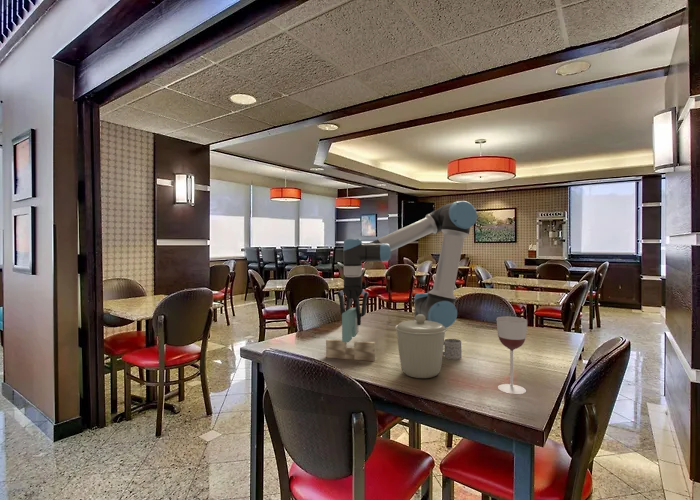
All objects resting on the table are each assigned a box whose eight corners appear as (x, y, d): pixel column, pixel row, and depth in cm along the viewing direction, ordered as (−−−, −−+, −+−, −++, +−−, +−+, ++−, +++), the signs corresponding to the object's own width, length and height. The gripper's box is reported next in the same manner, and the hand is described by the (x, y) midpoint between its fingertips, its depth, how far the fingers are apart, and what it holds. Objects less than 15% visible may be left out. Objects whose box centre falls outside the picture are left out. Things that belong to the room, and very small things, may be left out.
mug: (461, 355, 156) (461, 339, 156) (461, 360, 149) (461, 343, 149) (436, 353, 159) (436, 337, 158) (435, 358, 152) (435, 341, 152)
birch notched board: (375, 359, 151) (375, 342, 151) (374, 361, 149) (374, 343, 149) (327, 355, 157) (327, 339, 157) (326, 357, 155) (326, 340, 155)
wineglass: (520, 383, 124) (520, 316, 124) (532, 395, 114) (531, 322, 114) (493, 382, 125) (493, 316, 125) (501, 394, 115) (501, 322, 115)
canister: (411, 362, 147) (411, 308, 147) (455, 372, 136) (455, 313, 135) (385, 375, 133) (384, 315, 133) (432, 387, 122) (431, 321, 121)
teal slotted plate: (357, 333, 159) (357, 307, 159) (348, 342, 146) (347, 313, 146) (352, 333, 160) (351, 307, 160) (342, 342, 146) (341, 313, 146)
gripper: (373, 275, 158) (373, 331, 159) (337, 275, 162) (338, 329, 163) (368, 277, 151) (369, 336, 151) (332, 276, 155) (332, 333, 156)
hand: (353, 332), depth 157 cm, fingers closed on teal slotted plate, 2 cm apart
